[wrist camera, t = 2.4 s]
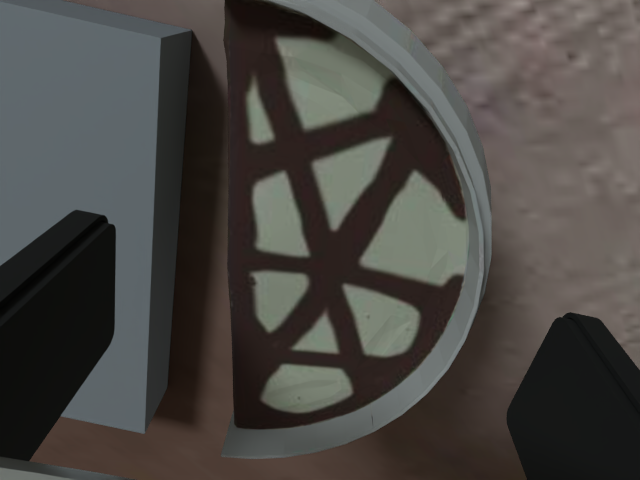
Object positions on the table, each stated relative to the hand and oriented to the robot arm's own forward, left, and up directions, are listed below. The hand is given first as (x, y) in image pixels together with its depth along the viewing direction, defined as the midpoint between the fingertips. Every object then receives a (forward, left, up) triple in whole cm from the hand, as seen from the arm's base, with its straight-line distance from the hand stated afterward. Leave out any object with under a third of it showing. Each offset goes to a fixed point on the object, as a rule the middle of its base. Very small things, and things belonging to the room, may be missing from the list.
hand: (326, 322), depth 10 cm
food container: (-1, -1, -10) cm, 10 cm away
